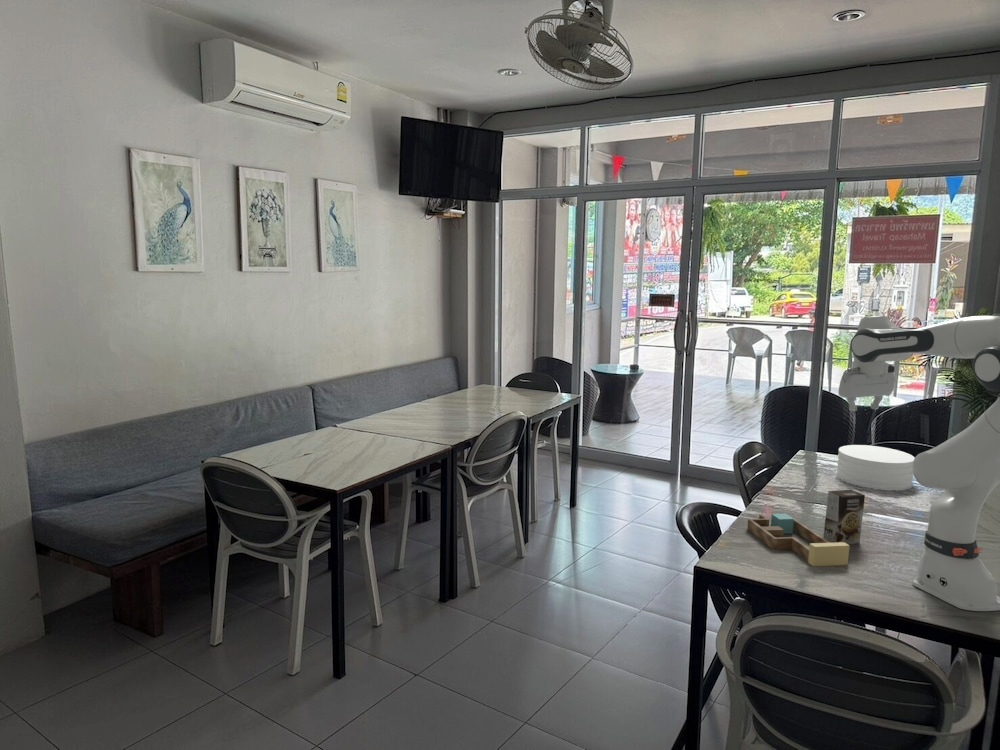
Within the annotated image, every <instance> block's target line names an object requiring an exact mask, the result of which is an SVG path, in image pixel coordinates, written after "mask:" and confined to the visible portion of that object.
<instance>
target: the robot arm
mask: <svg viewBox="0 0 1000 750" xmlns="http://www.w3.org/2000/svg"><path fill="white" fill-rule="evenodd" d="M850 350H851V352H852V354H853V364H852V367H848V368H846V370H844V372H843V373H842V376H841V379H840V382H839V386H838V395H839V397H841V398H846V401H847V403H848V410H849V411H850V412H857V411H858V405H856V401H857V398H868V397H873V398H874V399H873V401H872V402H871V403H870V409H872V410H878V409H879V407H880V404H881V402H882V401H883V397H884V396H890V395H892V394H893V392H894V388H895V382H896V381H895V380H896V375H895V373H896V371H897V366H895V365H893V364H891V363H888V362H899V361H901V362H902V361H905V360H908V359H910V358H911V357H912V356H913V354H920V355H929V356H937V357H938V356H939V357H942V358H943V357H945V358H951V359H973V362H972V370H973V375H974V376H975V378H976V380H977V381H978V382H979V384H980V385H981V386H983V387H984V388H985V390H986V392H987V393H988V394H990V395H991V396H993V397H997V399H996V400H995V402H993V403H992V404H991V405H990V406H989V407H988V408H987V409H986V410H985V411H984V412H983V413H982V414H981V415H979V417H978V418H976V419H975V421H973V422H972V423H971V424H970V425H969V426H967V428H965V429H964V430H961V431H960V432H959V433H957V434H956V435H954V436H952V437H950V438H949V439H947V440H945V441H944V442H942V443H940V444H938V445H937V446H934V447H933V448H931V449H928V450H926V451H922V452H920V453H918V454H917V455H916V456H914V457H915V459H914V461H913V464H912V471H913V478H914V479H915V481H916V482H917V483H918V484H919V485H921V487H925V488H928V489H933V490H940V491H943V492H942V494H941V495H940V496H939V497H938V498H937V499H935V500H934V501H933V502H932V503H931V505H930V508H929V509H930V510H929V516H928V524H927V529H926V530H925V532H924V533H925V535H924V536H923V537H924V538H923V539H924V540H923V543H924V545H925V546H924V549H923V552H922V553H921V557H920V559H919V563H918V566H917V571H916V574H915V576H914V579H913V581H912V586H914V587H916V588H918V589H920V590H922V591H924V592H926V593H927V594H930V595H933V596H934V597H936V598H938V599H940V600H942V601H944V602H946V603H948V604H950V605H952V606H954V607H956V608H958V609H961V610H965V611H972V612H994V611H1000V596H998V586H997V581H996V579H995V578H994V575H993V574H992V573H991V572H990V571H989V570H988V569H987V567H986V565H985V564H984V563H983V562H982V560H981V559H980V557H979V556H980V554H981V553H983V552H982V551H983V549H984V548H978V544H977V540H976V534H977V533H976V532H977V528H978V522H979V517H980V513H981V511H982V508H983V506H984V504H985V503H986V500H987V498H988V497H989V496H990V494H991V493H992V491H993V490H994V488H996V487H997V486H998V485H999V484H1000V315H972V316H964V317H958V318H954V319H949V320H947V321H942V322H939V323H935V324H931V325H927V326H923V327H918V328H914V329H908V330H905V329H903V328H901V327H899V326H897V325H895V324H894V323H892V321H891V320H890V318H889V317H888V316H886V315H868V316H864V317H862V318H861V319H860V321H859V324H858V327H857V331H856V333H855V334H854V335H853V336H852V339H851V341H850Z"/></svg>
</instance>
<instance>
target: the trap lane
mask: <svg viewBox="0 0 1000 750" xmlns="http://www.w3.org/2000/svg"><path fill="white" fill-rule="evenodd" d="M786 514H787V515H789V516H790V517H792V518H793V519H794V523H793V532H795V533H796V534H798V535H799V536H800V537H802V538H803V539H805V540H806V541H808V542H809V543H831V542H830V541H828V540H826V539H824V538H823V536H822V535H819V534H818V533H816V532H815V531H814V530H812V529H811V528H809V527H808V526H806V525H805V524H803V523H802V522H801V521H799V520H797V519H796V518H794V517H793V516H791V515H790V514H788V513H786ZM746 529H747V530H748V531H749V532H750V533H752V534H753V535H754V536H755V537H757V538H758V539H759V540H760V541H762V542H763V543H764V544H765V545H767V546H768V547H769V548H771V550H792V551H793V552H795V553H796V554H797V555H798V556H800V557H802V559H804V560H806V561H807V562H808V557H809V546H807V545H806V544H804V543H803V542H802V541H800V540H799V539H797V538H796V537H794V536H784V533H783V531H784V530H783V529H782V528H781V527H779V526H771V525H770V519H769V518H768V517H766V515H764V514H762V513H760V514H759V515H758V518H748V519H747V527H746Z"/></svg>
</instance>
